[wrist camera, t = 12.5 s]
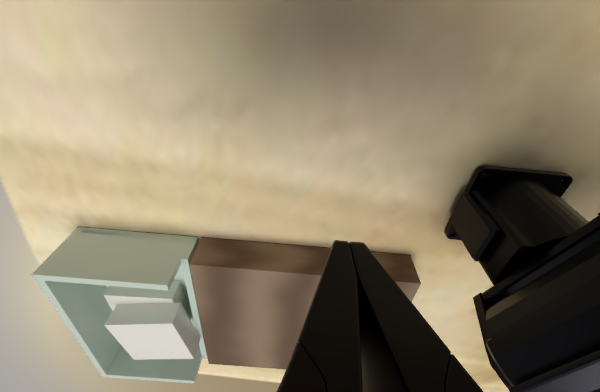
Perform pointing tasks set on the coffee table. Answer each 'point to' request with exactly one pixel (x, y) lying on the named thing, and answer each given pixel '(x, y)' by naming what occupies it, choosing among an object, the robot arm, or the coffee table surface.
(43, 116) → the coffee table surface
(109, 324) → the tile
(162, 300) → the tile
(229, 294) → the brown flat block
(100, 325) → the box
